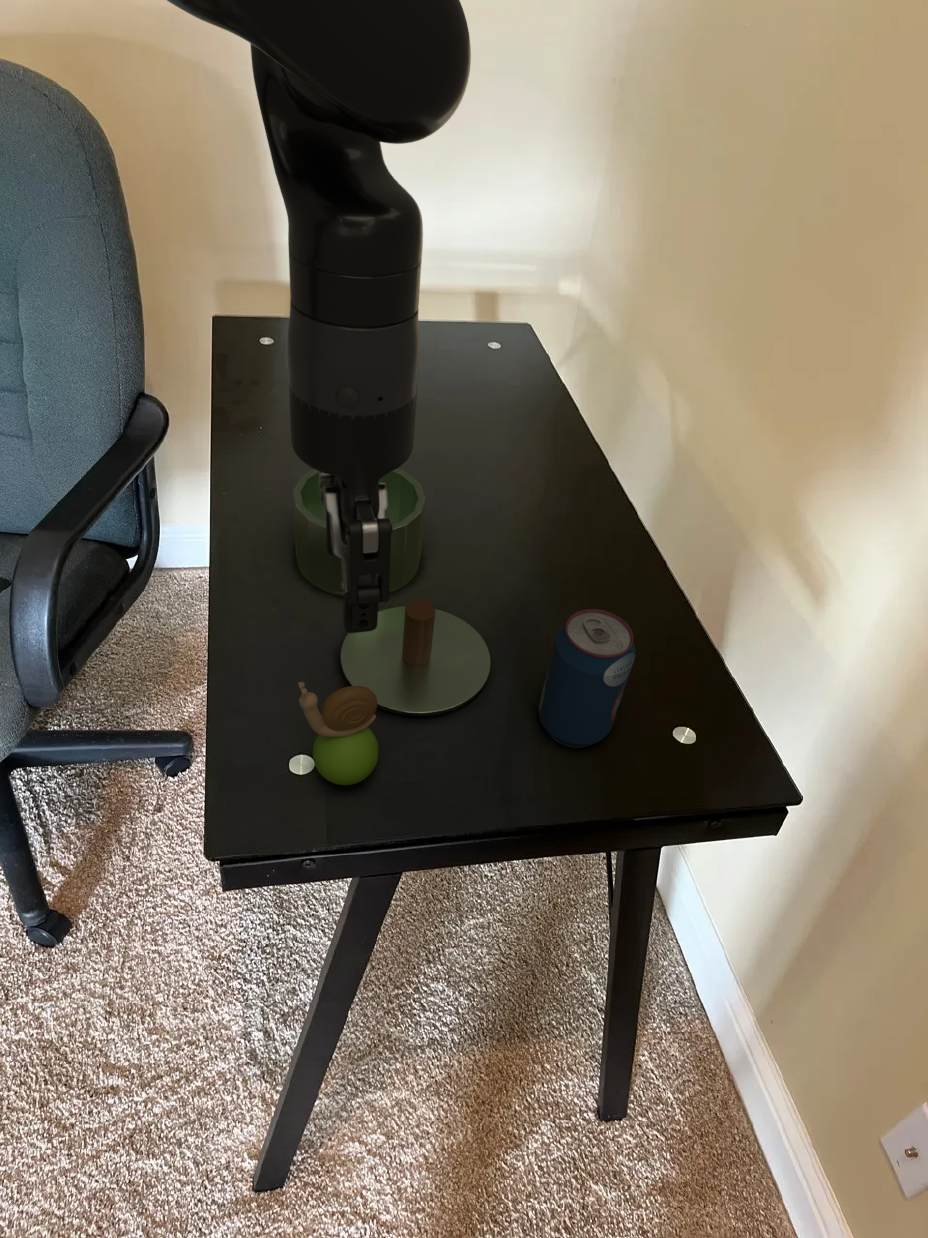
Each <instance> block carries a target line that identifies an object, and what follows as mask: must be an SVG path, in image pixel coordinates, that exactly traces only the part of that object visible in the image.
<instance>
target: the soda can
mask: <svg viewBox="0 0 928 1238" xmlns="http://www.w3.org/2000/svg"><path fill="white" fill-rule="evenodd" d="M633 633H634V632H633V630H632V628H631V627H630V625H629V624H628V623H627V622H626V621H625V620H624V619H623V618H621V617H620V616H618V615H617V614H615V613H612V612H610V611H607V610H604V609H597V608H596V609H595V608H588V609H587V608H586V609H582V610H578V611H576V612H574V613H573V614H571V615H570V617H568V619H567V620H566V623H564V624H563V625H562V626H561V627H560V628H559V630H558V631H557V632H556V635H555V638H554V641H553V646H552V651H551V655H550V659H549V663H548V666H547V671H546V675H545V680H544V684H543V687H542V690H541V691H542V692H541V695H540V699H539V704H538V709H537V711H538V712H537V713H538V718H539V720H540V723H541V725H542V727H543V728H544V730H545V731H546V734H548V735H549V736H550V738H551V739H553V740H554V741H556V742H557V743H558V744H560V745H562V746H565V747H569V748H577V749H578V748H580V749H581V748H586V747H590V746H593V745H595V744H597V743H599V742H601V741H602V740H603V739H604V738H606V737H607V736H608V735H609V733H610V732H611V730H612V727H613V725H614V722H615V719H616V716H617V713H618V710H619V706H620V703H621V701H622V698H623V696H624V692H625V689H626V686H627V683H628V680H629V677H630V674H631V671H632V668H633V665H634V663H635V659H636V648H635V644H634V634H633Z"/></svg>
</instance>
